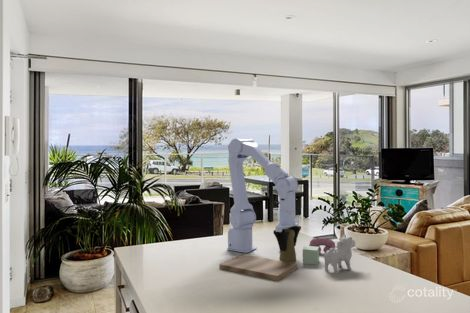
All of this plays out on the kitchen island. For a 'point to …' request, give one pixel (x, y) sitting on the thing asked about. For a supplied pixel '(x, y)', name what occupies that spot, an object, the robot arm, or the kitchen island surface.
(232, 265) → the walnut board
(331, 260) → the dog figurine
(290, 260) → the olive peg
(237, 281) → the kitchen island surface
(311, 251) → the sage block
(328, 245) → the pink toy figurine
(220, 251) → the kitchen island surface
